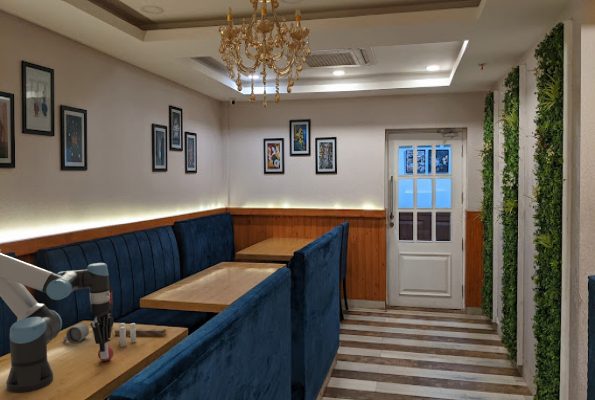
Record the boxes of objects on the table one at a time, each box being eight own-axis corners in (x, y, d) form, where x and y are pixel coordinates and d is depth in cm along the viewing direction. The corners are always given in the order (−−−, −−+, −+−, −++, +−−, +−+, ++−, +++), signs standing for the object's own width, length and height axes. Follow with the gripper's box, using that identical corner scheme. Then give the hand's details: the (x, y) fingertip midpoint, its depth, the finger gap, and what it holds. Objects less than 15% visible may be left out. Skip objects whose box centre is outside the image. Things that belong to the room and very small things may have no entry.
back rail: (165, 333, 227) (165, 328, 227) (163, 335, 224) (163, 330, 224) (117, 333, 229) (117, 328, 229) (115, 335, 226) (114, 330, 226)
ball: (98, 364, 191) (98, 350, 190) (97, 359, 196) (97, 345, 196) (114, 361, 193) (113, 347, 193) (112, 356, 199) (112, 342, 199)
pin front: (120, 347, 210) (120, 328, 210) (120, 345, 212) (119, 327, 212) (126, 346, 211) (125, 327, 211) (125, 344, 213) (125, 326, 213)
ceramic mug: (90, 337, 224) (89, 321, 224) (82, 343, 216) (81, 327, 215) (68, 337, 224) (68, 322, 224) (59, 343, 216) (58, 327, 216)
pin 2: (130, 343, 215) (130, 325, 215) (130, 341, 217) (129, 323, 217) (136, 342, 216) (135, 324, 216) (135, 340, 218) (135, 322, 218)
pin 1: (120, 343, 215) (119, 325, 215) (119, 341, 217) (119, 323, 217) (125, 342, 216) (125, 324, 216) (125, 340, 218) (124, 322, 218)
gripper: (100, 305, 182) (104, 364, 184) (117, 297, 195) (121, 352, 196) (82, 306, 183) (87, 364, 184) (100, 297, 196) (104, 352, 197)
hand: (104, 358), depth 190 cm, fingers closed
